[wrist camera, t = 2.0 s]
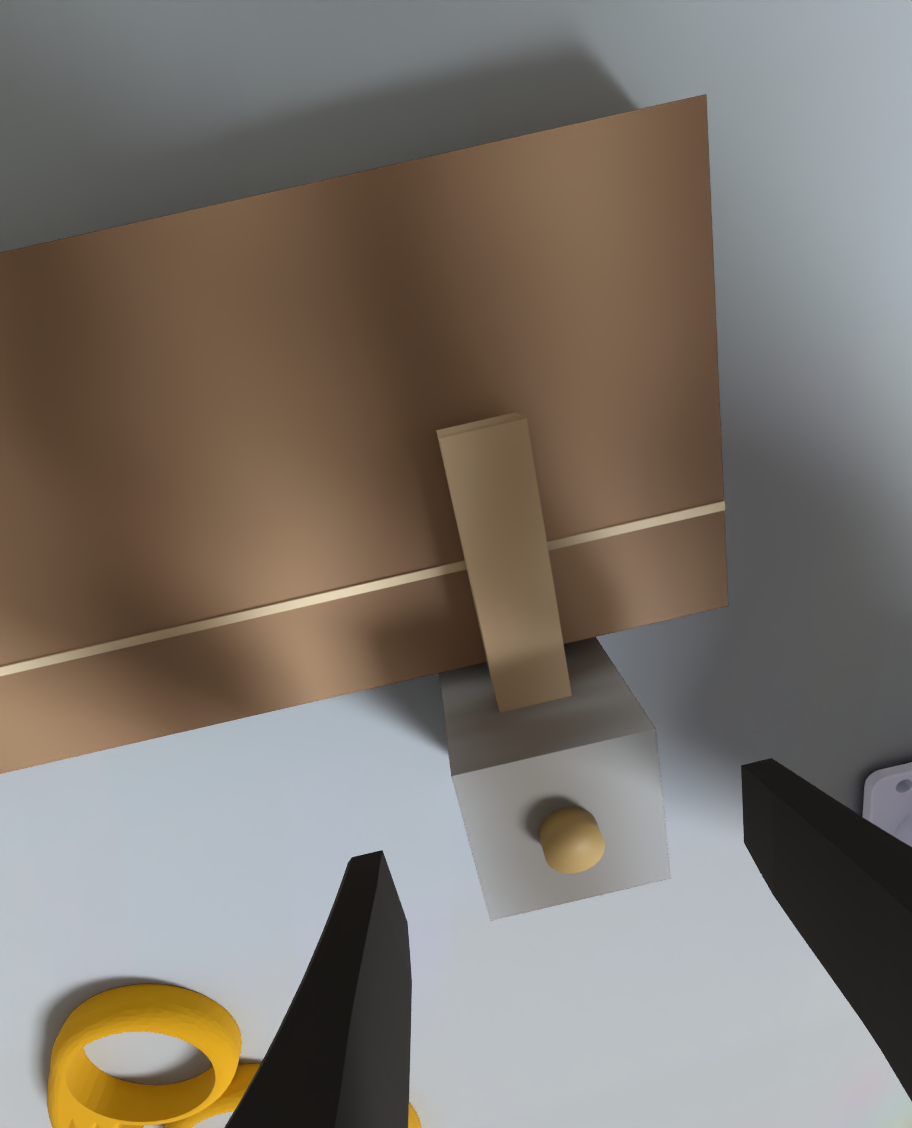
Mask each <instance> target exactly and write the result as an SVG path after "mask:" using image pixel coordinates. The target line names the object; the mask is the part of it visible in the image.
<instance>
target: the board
mask: <svg viewBox="0 0 912 1128" xmlns="http://www.w3.org/2000/svg"><path fill="white" fill-rule="evenodd" d="M515 412H517V413H519V414H520V415H522V416H524V417H525V418H527V423H528V429H529V436H530V442H531V448H532V454H533V460H534V466H535V472H536V479H537V485H538V491H539V497H540V503H541V509H542V515H543V522H544V528H545V534H546V540H547V546H548V552H549V558H550V565H551V571H552V577H553V583H554V589H555V595H556V601H557V608H558V614H559V620H560V626H561V632H562V638H563V644H566V643H570V642H575V641H579V640H583V639H588V638H592V637H596V636H601V635H605V634H609V633H614V632H618V631H622V630H627V629H631V628H635V627H640V626H644V625H648V624H653V623H657V622H661V621H666V620H670V619H674V618H679V617H683V616H687V615H692V614H696V613H700V612H705V611H709V610H713V609H718V608H722V607H726V606H728V585H727V562H726V539H725V516H724V510H725V501H724V493H723V469H722V446H721V423H720V400H719V377H718V353H717V330H716V307H715V284H714V260H713V237H712V214H711V191H710V168H709V144H708V121H707V98H706V94H705V95H700V96H696V97H691V98H687V99H683V100H678V101H674V102H669V103H665V104H660V105H656V106H651V107H647V108H643V109H638V110H634V111H629V112H625V113H620V114H616V115H611V116H607V117H602V118H598V119H594V120H589V121H585V122H580V123H576V124H571V125H567V126H562V127H558V128H554V129H549V130H545V131H540V132H536V133H531V134H527V135H522V136H518V137H513V138H509V139H505V140H500V141H496V142H491V143H487V144H482V145H478V146H473V147H469V148H465V149H460V150H456V151H451V152H447V153H442V154H438V155H433V156H429V157H425V158H420V159H416V160H411V161H407V162H402V163H398V164H393V165H389V166H384V167H380V168H376V169H371V170H367V171H362V172H358V173H353V174H349V175H344V176H340V177H336V178H331V179H327V180H322V181H318V182H313V183H309V184H304V185H300V186H295V187H291V188H287V189H282V190H278V191H273V192H269V193H264V194H260V195H255V196H251V197H247V198H242V199H238V200H233V201H229V202H224V203H220V204H215V205H211V206H206V207H202V208H198V209H193V210H189V211H184V212H180V213H175V214H171V215H166V216H162V217H158V218H153V219H149V220H144V221H140V222H135V223H131V224H126V225H122V226H117V227H113V228H109V229H104V230H100V231H95V232H91V233H86V234H82V235H77V236H73V237H69V238H64V239H60V240H55V241H51V242H46V243H42V244H37V245H33V246H28V247H24V248H20V249H15V250H11V251H6V252H2V253H0V774H2V773H6V772H11V771H15V770H19V769H24V768H28V767H32V766H37V765H41V764H45V763H50V762H54V761H58V760H63V759H67V758H71V757H76V756H80V755H84V754H89V753H93V752H97V751H102V750H106V749H110V748H115V747H119V746H123V745H128V744H132V743H136V742H141V741H145V740H149V739H154V738H158V737H162V736H167V735H171V734H175V733H180V732H184V731H188V730H193V729H197V728H201V727H206V726H210V725H214V724H219V723H223V722H227V721H232V720H236V719H240V718H245V717H249V716H253V715H258V714H262V713H267V712H271V711H275V710H280V709H284V708H288V707H293V706H297V705H301V704H306V703H310V702H314V701H319V700H323V699H327V698H332V697H336V696H340V695H345V694H349V693H353V692H358V691H362V690H366V689H371V688H375V687H379V686H384V685H388V684H392V683H397V682H401V681H405V680H410V679H414V678H418V677H423V676H427V675H431V674H436V673H440V672H444V671H449V670H453V669H457V668H462V667H466V666H470V665H475V664H479V663H483V662H487V658H486V654H485V649H484V645H483V640H482V636H481V631H480V627H479V622H478V617H477V613H476V608H475V604H474V599H473V595H472V590H471V586H470V581H469V577H468V572H467V568H466V563H465V558H464V554H463V549H462V545H461V540H460V536H459V531H458V527H457V522H456V518H455V513H454V509H453V504H452V499H451V495H450V490H449V486H448V481H447V477H446V472H445V468H444V463H443V459H442V454H441V449H440V445H439V440H438V436H437V431H436V430H440V429H444V428H449V427H453V426H458V425H462V424H466V423H471V422H475V421H479V420H484V419H488V418H493V417H497V416H501V415H506V414H510V413H515Z"/></svg>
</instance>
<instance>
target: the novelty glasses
mask: <svg viewBox="0 0 912 1128" xmlns="http://www.w3.org/2000/svg"><path fill="white" fill-rule="evenodd" d="M123 1032H155V1033H161V1034H166V1035H170V1036H174V1037H177V1038H179V1039H182V1040H184V1041H186V1042H188V1043H190V1044H192V1045H194V1046H195V1047H197V1048H198V1049H199V1050H201V1051H202V1052H203V1053H204V1054H205V1055H206V1056H207V1057H208V1058H209V1060H210V1061H211V1063H212V1065H213V1066H212V1067H211V1068H210V1069H208V1070H207V1071H206V1072H204V1073H202V1074H200V1075H199V1076H197V1077H195V1078H192V1079H189V1080H186V1081H183V1082H178V1083H173V1084H165V1085H144V1084H136V1083H131V1082H127V1081H123V1080H120V1079H117V1078H115V1077H113V1076H110V1075H108V1074H107V1073H105V1072H103V1071H101V1070H100V1069H99V1068H97V1067H96V1066H95V1065H94V1064H93V1063H92V1062H91V1061H90V1060H89V1058H88V1057H87V1056H86V1054H85V1051H84V1049H83V1047H84V1046H85V1045H87V1044H88V1043H90V1042H92V1041H94V1040H97V1039H99V1038H102V1037H105V1036H108V1035H112V1034H117V1033H123ZM241 1043H242V1042H241V1034H240V1030H239V1027H238V1025H237V1023H236V1021H235V1020H234V1018H233V1017H232V1016H231V1015H230V1013H229V1012H228V1011H227V1010H226V1009H225V1008H223V1007H222V1006H221V1005H220V1004H218V1003H217V1002H215V1001H214V1000H212V999H210V998H208V997H207V996H204V995H202V994H200V993H197V992H194V991H191V990H188V989H185V988H181V987H176V986H170V985H160V984H136V985H129V986H123V987H118V988H114V989H111V990H107V991H104V992H102V993H100V994H97V995H95V996H93V997H91V998H90V999H88V1000H86V1001H85V1002H83V1003H82V1004H80V1005H79V1006H78V1007H77V1008H76V1009H75V1010H74V1011H73V1012H72V1013H71V1014H70V1015H69V1017H68V1018H67V1019H66V1021H65V1023H64V1024H63V1026H62V1028H61V1030H60V1032H59V1034H58V1036H57V1038H56V1041H55V1043H54V1046H53V1049H52V1054H51V1060H50V1072H49V1078H48V1089H47V1106H48V1113H49V1118H50V1121H51V1124H52V1127H53V1128H143V1126H144V1125H158V1124H164V1123H165V1126H164V1128H191V1127H192V1126H194V1125H195V1124H197V1123H199V1122H200V1121H202V1120H204V1119H207V1118H209V1117H212V1116H214V1115H218V1114H221V1113H226V1112H232V1111H235V1109H236V1107H237V1106H238V1104H239V1102H240V1101H241V1099H242V1097H243V1095H244V1094H245V1092H246V1090H247V1088H248V1086H249V1084H250V1083H251V1081H252V1079H253V1077H254V1075H255V1074H256V1072H257V1070H258V1068H259V1066H260V1064H240V1065H238V1062H239V1058H240V1053H241ZM408 1128H421V1124H420V1120H419V1117H418V1115H417V1113H416V1111H415V1109H414V1108H413V1106H412V1105H411V1104H410V1102H409V1114H408Z"/></svg>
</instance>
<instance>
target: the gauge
mask: <svg viewBox="0 0 912 1128" xmlns="http://www.w3.org/2000/svg"><path fill="white" fill-rule="evenodd" d="M436 431H437V436H438V440H439V445H440V449H441V454H442V459H443V463H444V468H445V472H446V477H447V481H448V486H449V490H450V495H451V499H452V504H453V509H454V513H455V518H456V522H457V527H458V531H459V536H460V540H461V545H462V549H463V554H464V558H465V563H466V568H467V572H468V577H469V581H470V586H471V590H472V595H473V599H474V604H475V608H476V613H477V617H478V622H479V627H480V631H481V636H482V640H483V645H484V649H485V654H486V658H487V662H483V663H479V664H475V665H470V666H466V667H462V668H457V669H453V670H449V671H444V672H440V673H439V675H440V684H441V692H442V701H443V709H444V718H445V726H446V735H447V743H448V752H449V760H450V768H451V777H452V780H453V784H454V788H455V791H456V795H457V799H458V803H459V806H460V810H461V814H462V818H463V821H464V825H465V829H466V832H467V836H468V840H469V844H470V847H471V851H472V855H473V858H474V862H475V866H476V870H477V873H478V877H479V881H480V885H481V888H482V892H483V896H484V899H485V903H486V907H487V911H488V914H489V918H490V921H492V920H496V919H500V918H504V917H509V916H513V915H517V914H521V913H526V912H530V911H534V910H539V909H543V908H547V907H551V906H556V905H560V904H564V903H568V902H573V901H577V900H581V899H585V898H590V897H594V896H598V895H603V894H607V893H611V892H615V891H620V890H624V889H628V888H632V887H637V886H641V885H645V884H649V883H654V882H658V881H662V880H667V879H671V873H670V863H669V853H668V844H667V834H666V824H665V814H664V805H663V795H662V785H661V775H660V766H659V756H658V746H657V736H656V728H655V727H654V725H653V724H652V722H651V721H650V719H649V718H648V716H647V715H646V713H645V712H644V710H643V709H642V707H641V706H640V704H639V703H638V701H637V699H636V698H635V696H634V695H633V693H632V692H631V690H630V689H629V687H628V686H627V684H626V683H625V681H624V680H623V678H622V677H621V675H620V674H619V672H618V670H617V669H616V667H615V666H614V664H613V663H612V661H611V660H610V658H609V657H608V655H607V654H606V652H605V651H604V649H603V648H602V646H601V645H600V643H599V642H598V640H597V638H596V637H592V638H588V639H583V640H579V641H575V642H570V643H566V644H563V638H562V632H561V626H560V620H559V614H558V608H557V601H556V595H555V589H554V583H553V577H552V571H551V565H550V558H549V552H548V546H547V540H546V534H545V528H544V522H543V515H542V509H541V503H540V497H539V491H538V485H537V479H536V472H535V466H534V460H533V454H532V448H531V442H530V436H529V429H528V423H527V418H525V417H524V416H522V415H520V414H519V413H517V412H515V413H510V414H506V415H501V416H497V417H493V418H488V419H484V420H479V421H475V422H471V423H466V424H462V425H458V426H453V427H449V428H444V429H440V430H436Z"/></svg>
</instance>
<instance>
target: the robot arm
mask: <svg viewBox="0 0 912 1128" xmlns="http://www.w3.org/2000/svg"><path fill="white" fill-rule="evenodd" d="M741 771H742V799H743V826H744V843H745V845H746V847H747V849H748V851H749V853H750V854H751V856H752V858H753V860H754V862H755V864H756V865H757V867H758V869H759V871H760V873H761V874H762V876H763V878H764V880H765V881H766V883H767V885H768V887H769V888H770V890H771V892H772V894H773V895H774V897H775V898H776V900H777V901H778V903H779V904H780V906H781V907H782V908H783V910H784V911H785V913H786V914H787V916H788V917H789V918H790V920H791V921H792V923H793V924H794V926H795V927H796V928H797V930H798V931H799V933H800V934H801V936H802V937H803V938H804V940H805V941H806V943H807V944H808V946H809V947H810V948H811V950H812V951H813V953H814V954H815V955H816V957H817V958H818V960H819V961H820V962H821V964H822V965H823V967H824V968H825V969H826V971H827V972H828V974H829V975H830V977H831V978H832V979H833V981H834V982H835V984H836V985H837V986H838V988H839V989H840V991H841V992H842V993H843V995H844V996H845V998H846V999H847V1001H848V1002H849V1003H850V1005H851V1006H852V1008H853V1009H854V1010H855V1012H856V1013H857V1015H858V1016H859V1017H860V1019H861V1020H862V1022H863V1023H864V1025H865V1026H866V1028H867V1029H868V1031H869V1032H870V1034H871V1036H872V1037H873V1039H874V1040H875V1042H876V1043H877V1045H878V1046H879V1048H880V1049H881V1051H882V1052H883V1054H884V1056H885V1057H886V1059H887V1061H888V1062H889V1064H890V1066H891V1067H892V1069H893V1071H894V1072H895V1074H896V1076H897V1078H898V1079H899V1081H900V1083H901V1084H902V1086H903V1088H904V1089H905V1091H906V1093H907V1094H908V1096H909V1098H910V1099H911V1101H912V762H910V763H906V764H902V765H897V766H893V767H889V768H885V769H880V770H877V771H875V772H873V773H872V774H870V775H869V777H868V778H867V779H866V782H865V786H864V803H863V817H862V816H860V815H858V814H857V813H855V812H854V811H852V810H851V809H849V808H847V807H846V806H844V805H843V804H841V803H840V802H838V801H836V800H835V799H833V798H832V797H830V796H829V795H827V794H826V793H824V792H823V791H821V790H820V789H818V788H816V787H815V786H813V785H812V784H810V783H809V782H807V781H806V780H804V779H803V778H801V777H800V776H798V775H797V774H795V773H793V772H792V771H790V770H789V769H787V768H786V767H784V766H783V765H781V764H780V763H778V762H777V761H775V760H773V759H772V758H771V759H766V760H762V761H758V762H754V763H749V764H745V765H741ZM411 994H412V979H411V963H410V949H409V936H408V924H407V920H406V917H405V914H404V911H403V908H402V905H401V903H400V900H399V897H398V894H397V891H396V888H395V885H394V882H393V879H392V876H391V874H390V871H389V868H388V865H387V862H386V859H385V856H384V853H383V850H381V851H377V852H373V853H369V854H364V855H360V856H356V857H352V858H351V860H350V861H349V862H348V864H347V867H346V870H345V873H344V876H343V879H342V882H341V885H340V888H339V891H338V893H337V896H336V899H335V901H334V904H333V907H332V909H331V912H330V914H329V917H328V920H327V922H326V925H325V927H324V930H323V932H322V935H321V937H320V939H319V942H318V944H317V946H316V949H315V951H314V954H313V956H312V958H311V961H310V963H309V965H308V968H307V970H306V972H305V975H304V977H303V979H302V981H301V984H300V986H299V988H298V990H297V992H296V994H295V996H294V998H293V1000H292V1002H291V1005H290V1007H289V1009H288V1011H287V1013H286V1015H285V1017H284V1019H283V1021H282V1024H281V1026H280V1028H279V1030H278V1032H277V1034H276V1036H275V1038H274V1040H273V1042H272V1043H271V1045H270V1047H269V1049H268V1051H267V1053H266V1055H265V1057H264V1059H263V1061H262V1063H261V1064H260V1066H259V1068H258V1070H257V1072H256V1074H255V1075H254V1077H253V1079H252V1081H251V1083H250V1084H249V1086H248V1088H247V1090H246V1092H245V1094H244V1095H243V1097H242V1099H241V1101H240V1102H239V1104H238V1106H237V1107H236V1109H235V1111H234V1112H233V1114H232V1116H231V1117H230V1119H229V1121H228V1123H227V1124H226V1126H225V1128H408V1114H409V1076H410V1038H411Z"/></svg>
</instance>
